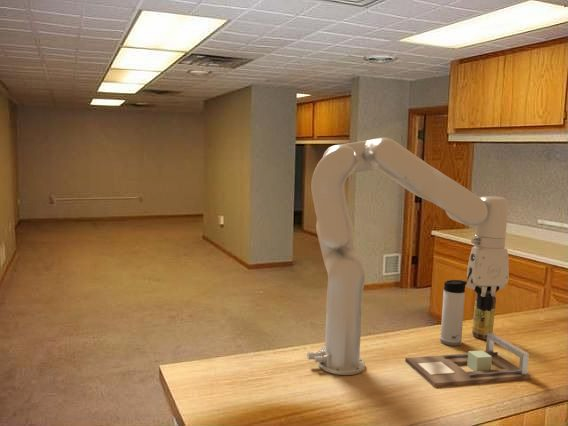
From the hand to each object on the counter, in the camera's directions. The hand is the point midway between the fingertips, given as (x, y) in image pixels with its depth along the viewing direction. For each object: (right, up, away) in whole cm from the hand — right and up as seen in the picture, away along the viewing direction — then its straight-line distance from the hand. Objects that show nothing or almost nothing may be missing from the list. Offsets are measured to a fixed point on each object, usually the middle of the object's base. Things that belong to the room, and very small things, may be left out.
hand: (483, 309), depth 138 cm
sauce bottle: (+10, -14, +27) cm, 32 cm away
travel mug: (-2, -15, +21) cm, 26 cm away
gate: (+7, -15, +4) cm, 18 cm away
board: (-4, -17, +1) cm, 17 cm away
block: (-1, -17, +2) cm, 17 cm away
